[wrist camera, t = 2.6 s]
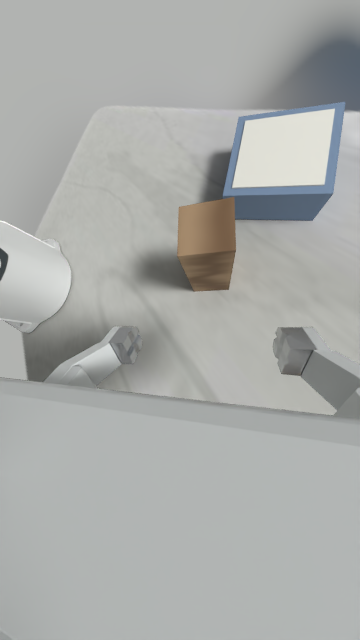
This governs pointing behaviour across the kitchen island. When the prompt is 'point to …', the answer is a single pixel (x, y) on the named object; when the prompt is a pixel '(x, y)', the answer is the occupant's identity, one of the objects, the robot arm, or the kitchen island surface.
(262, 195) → the pedestal
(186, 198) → the kitchen island surface
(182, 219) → the walnut block
